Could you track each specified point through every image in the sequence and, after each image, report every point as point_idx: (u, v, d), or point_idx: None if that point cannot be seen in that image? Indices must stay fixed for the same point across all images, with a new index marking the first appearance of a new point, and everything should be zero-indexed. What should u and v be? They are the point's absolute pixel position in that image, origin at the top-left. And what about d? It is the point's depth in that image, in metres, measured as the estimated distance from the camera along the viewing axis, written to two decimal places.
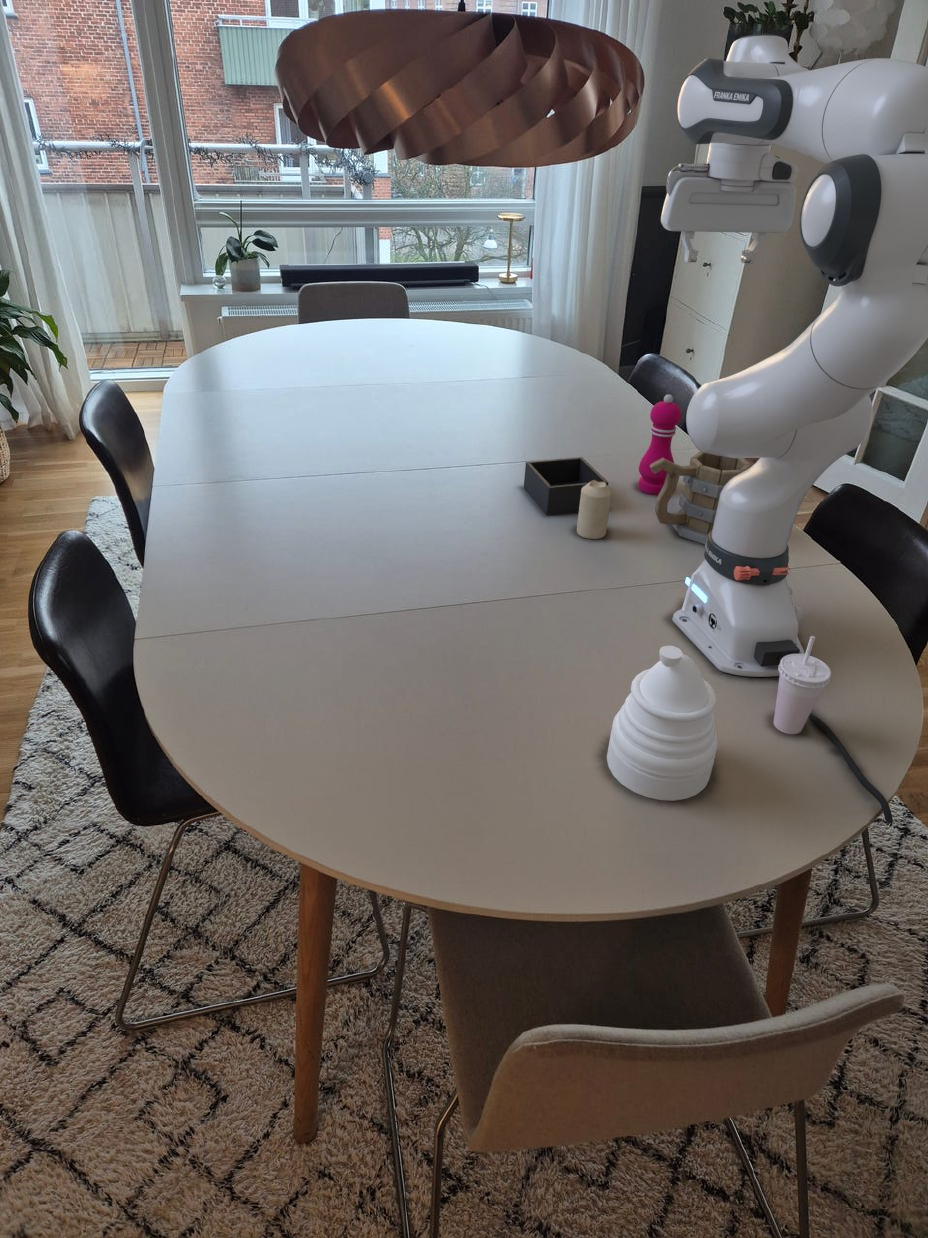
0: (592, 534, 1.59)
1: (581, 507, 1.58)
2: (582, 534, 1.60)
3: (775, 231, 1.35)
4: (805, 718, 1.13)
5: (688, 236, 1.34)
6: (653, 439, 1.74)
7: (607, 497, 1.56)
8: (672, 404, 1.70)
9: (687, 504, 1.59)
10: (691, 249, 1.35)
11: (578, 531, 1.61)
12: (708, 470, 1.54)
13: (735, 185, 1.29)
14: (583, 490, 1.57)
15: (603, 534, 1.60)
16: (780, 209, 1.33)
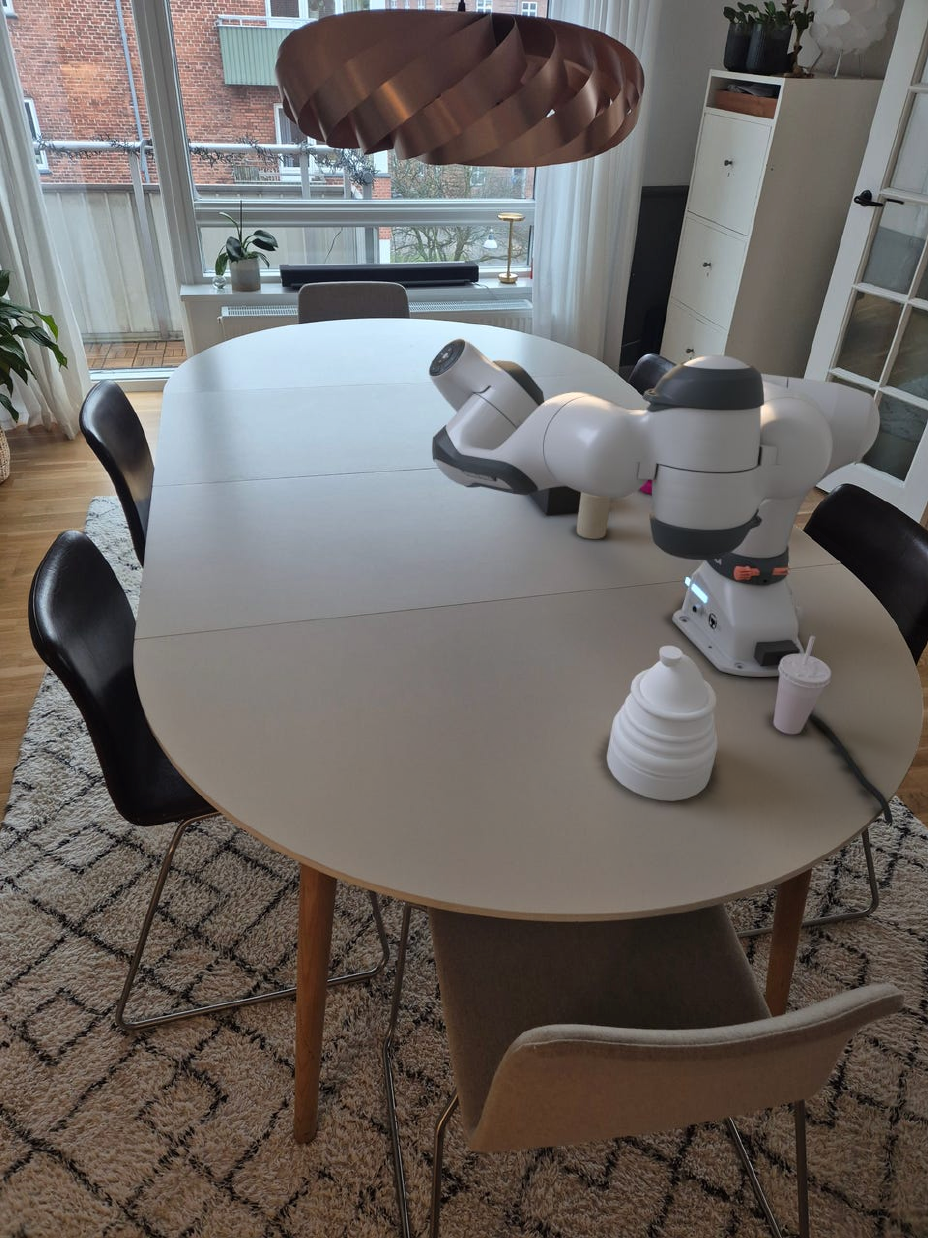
0: (592, 534, 1.59)
1: (581, 507, 1.58)
2: (582, 534, 1.60)
3: None
4: (805, 718, 1.13)
5: None
6: None
7: None
8: None
9: None
10: None
11: (578, 531, 1.61)
12: None
13: None
14: None
15: (603, 534, 1.60)
16: None
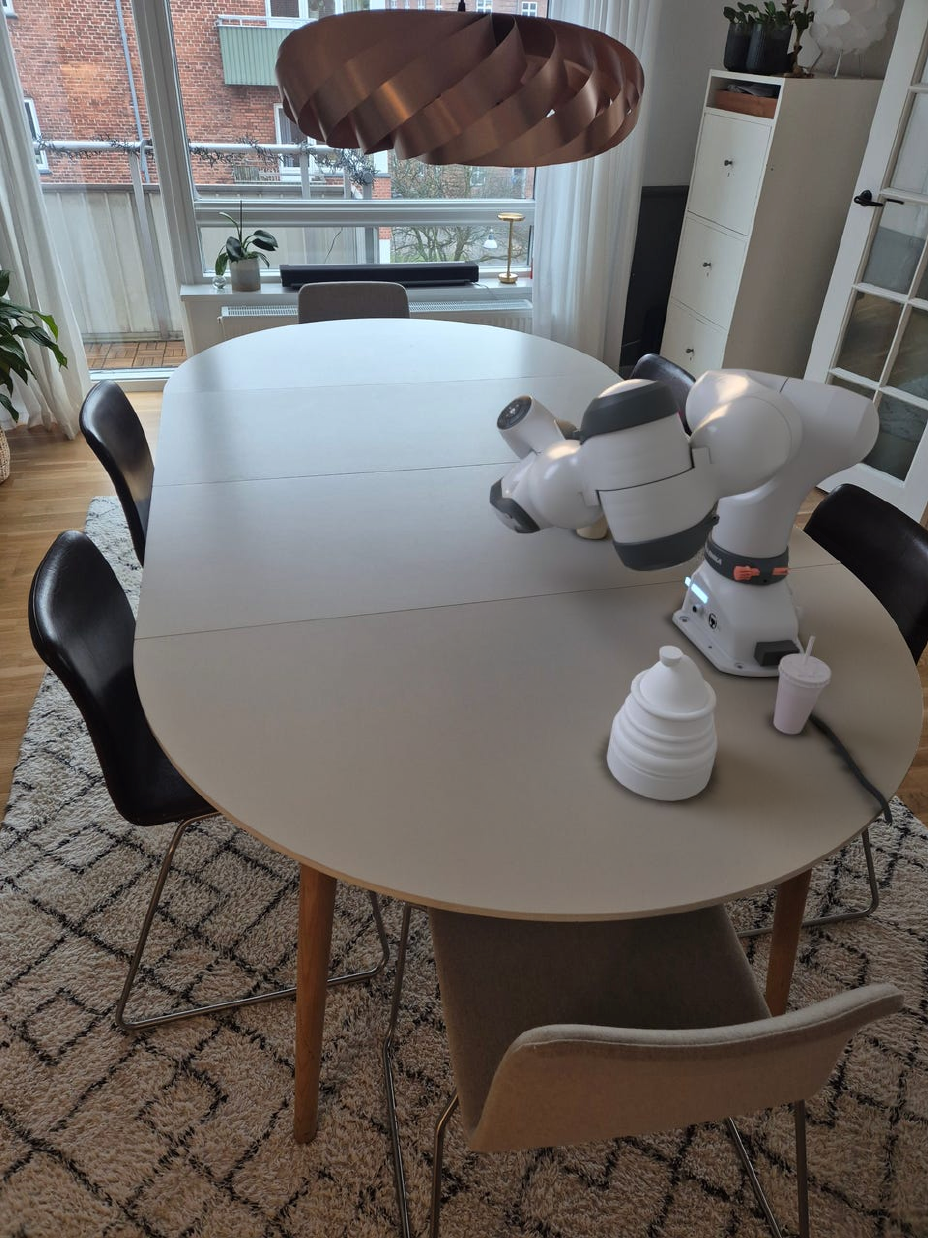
0: (592, 534, 1.59)
1: None
2: (582, 534, 1.60)
3: None
4: (805, 718, 1.13)
5: None
6: None
7: None
8: None
9: None
10: None
11: (578, 531, 1.61)
12: None
13: None
14: None
15: (603, 534, 1.60)
16: None
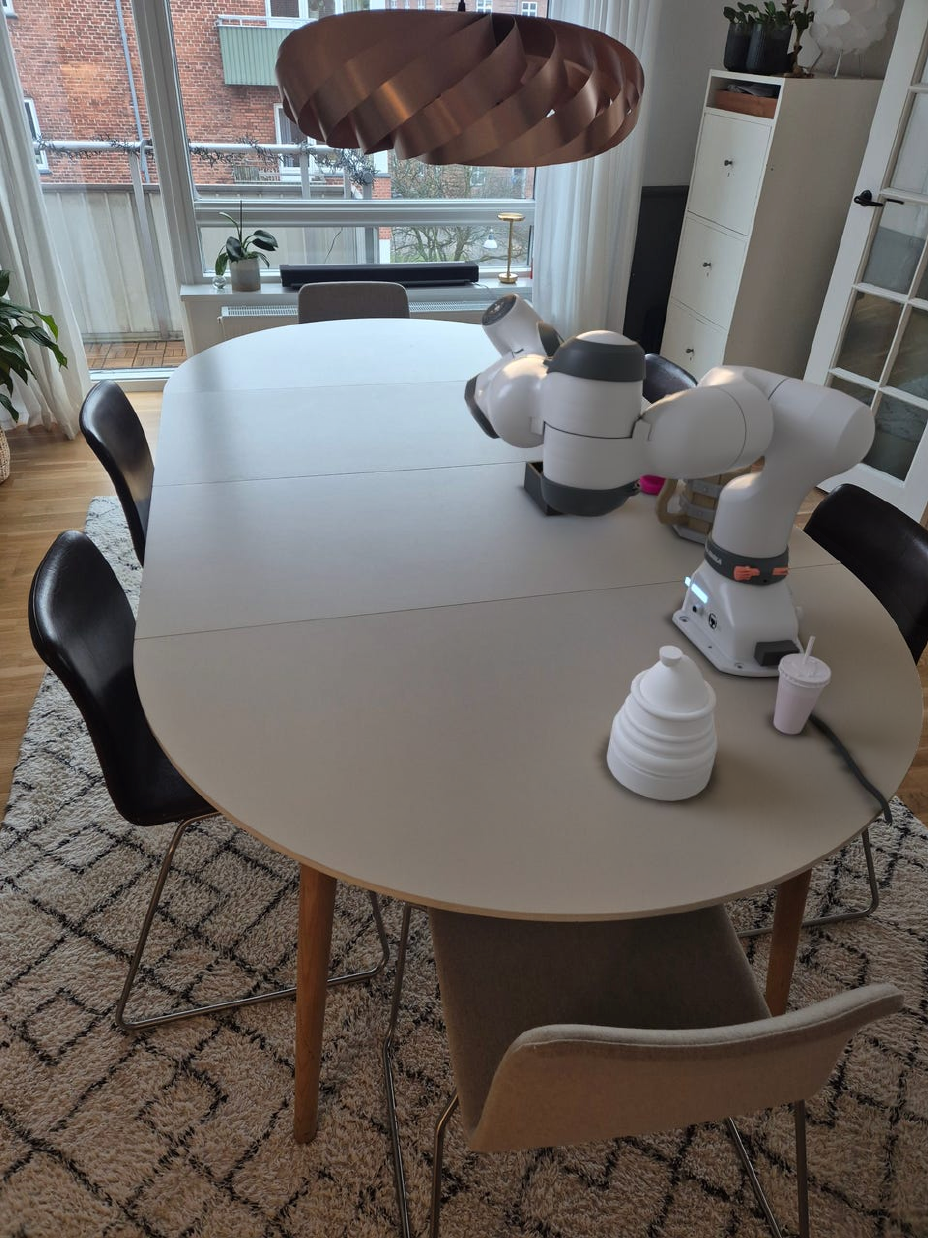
0: None
1: None
2: None
3: None
4: (805, 718, 1.13)
5: None
6: None
7: None
8: None
9: (687, 504, 1.59)
10: None
11: None
12: None
13: None
14: None
15: None
16: None
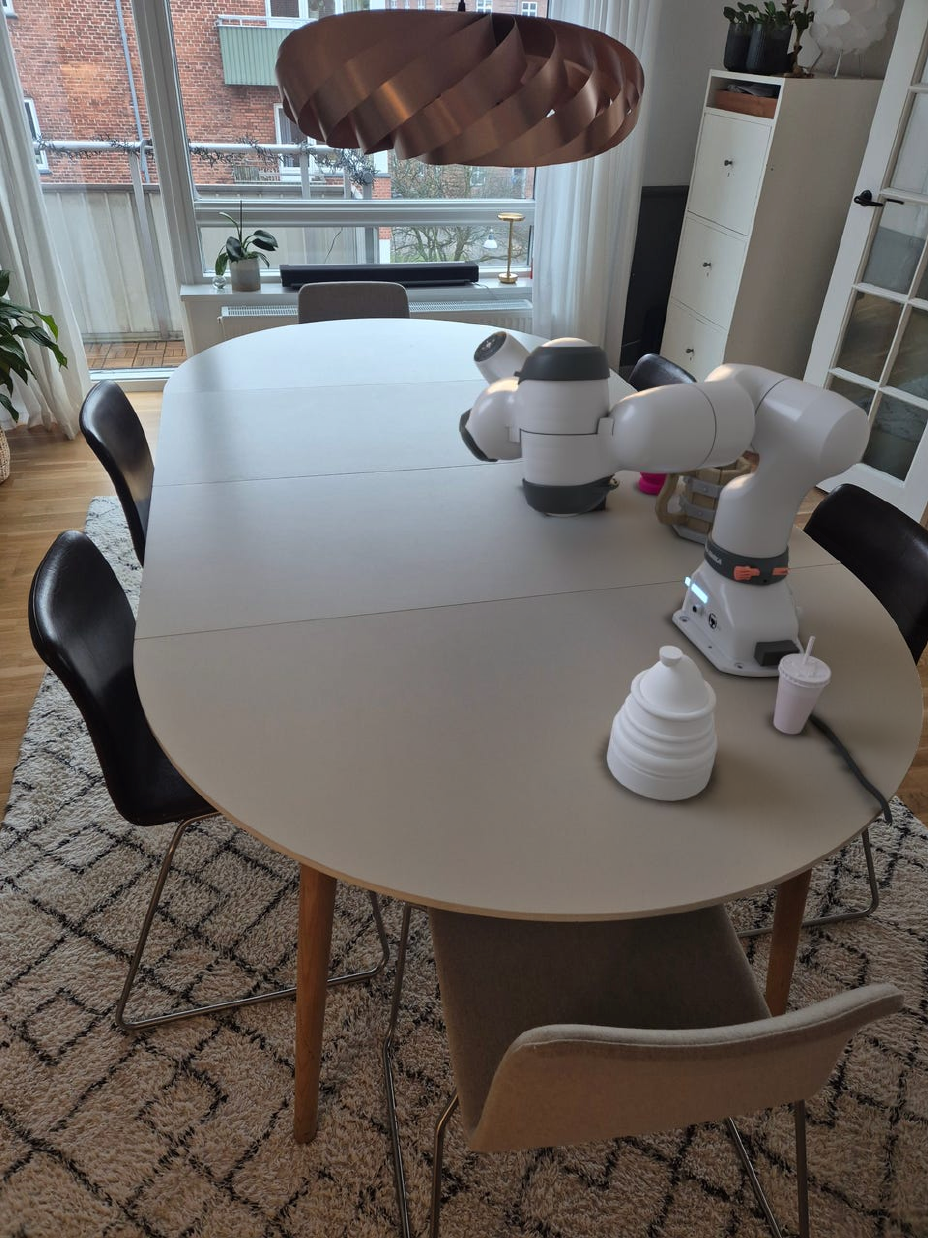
0: None
1: None
2: None
3: None
4: (805, 718, 1.13)
5: None
6: None
7: None
8: None
9: (687, 504, 1.59)
10: None
11: None
12: (708, 470, 1.54)
13: None
14: None
15: None
16: None
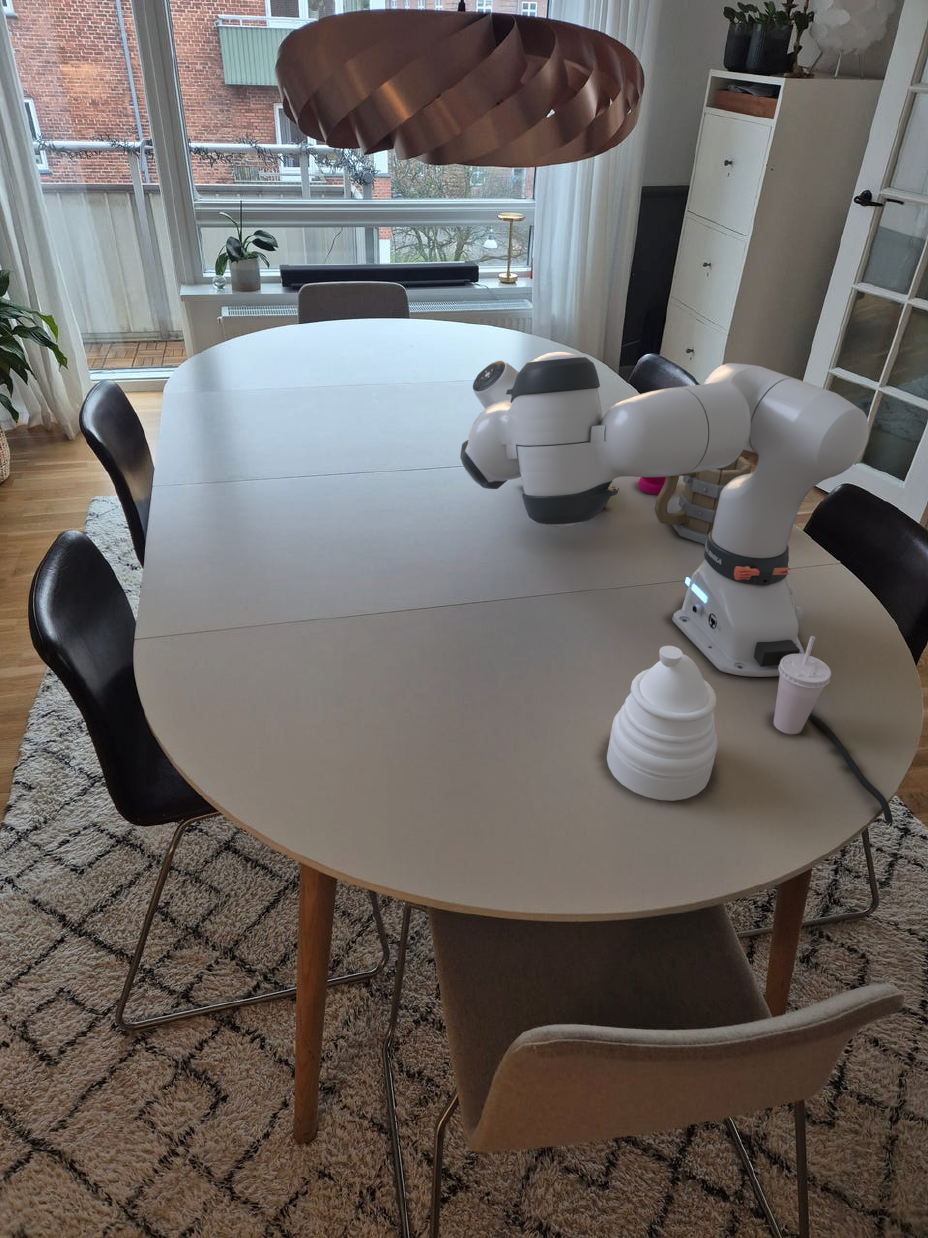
0: None
1: None
2: None
3: None
4: (805, 718, 1.13)
5: None
6: None
7: None
8: None
9: (687, 504, 1.59)
10: None
11: None
12: (708, 470, 1.54)
13: None
14: None
15: None
16: None
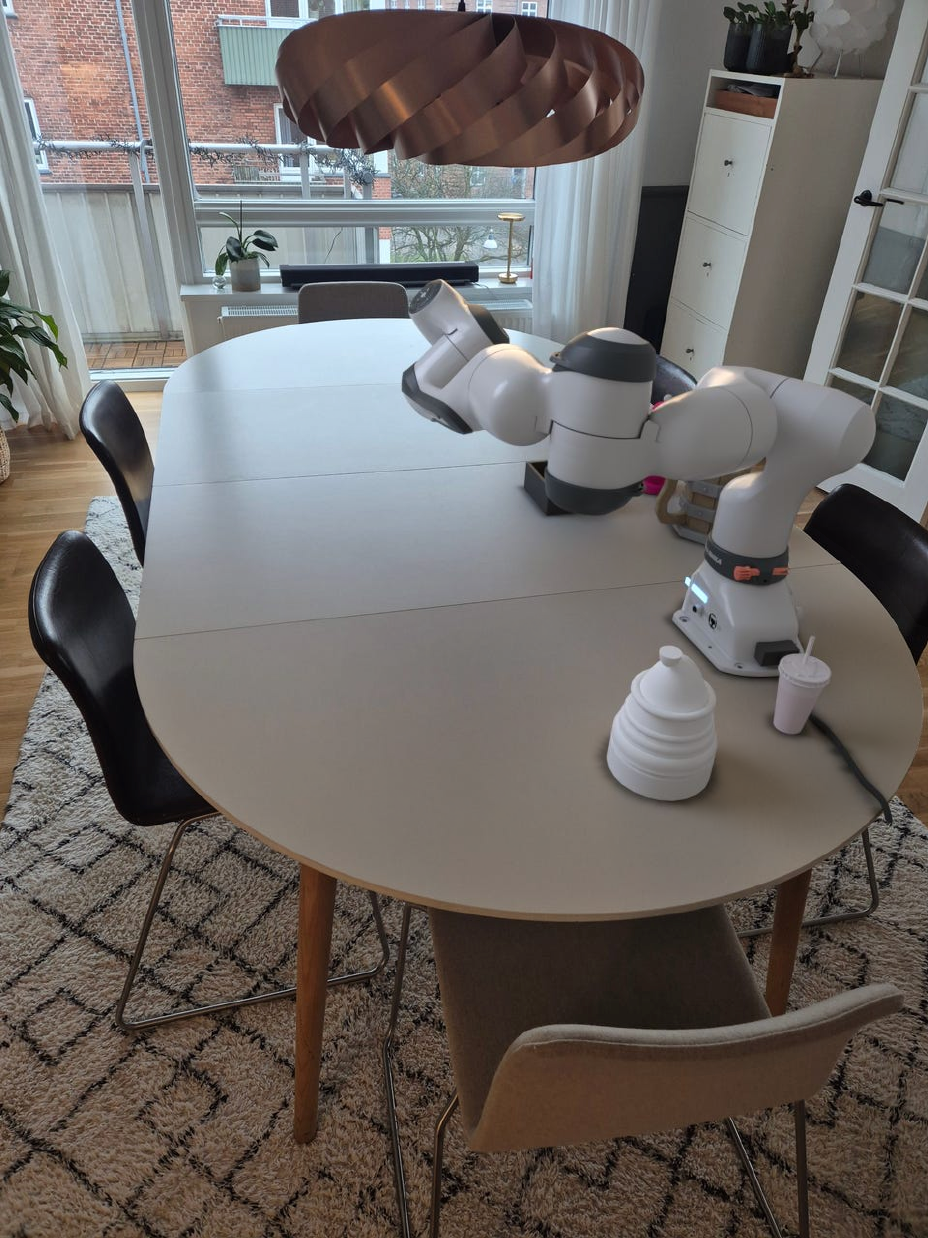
0: None
1: None
2: None
3: None
4: (805, 718, 1.13)
5: None
6: None
7: None
8: None
9: (687, 504, 1.59)
10: None
11: None
12: None
13: None
14: None
15: None
16: None
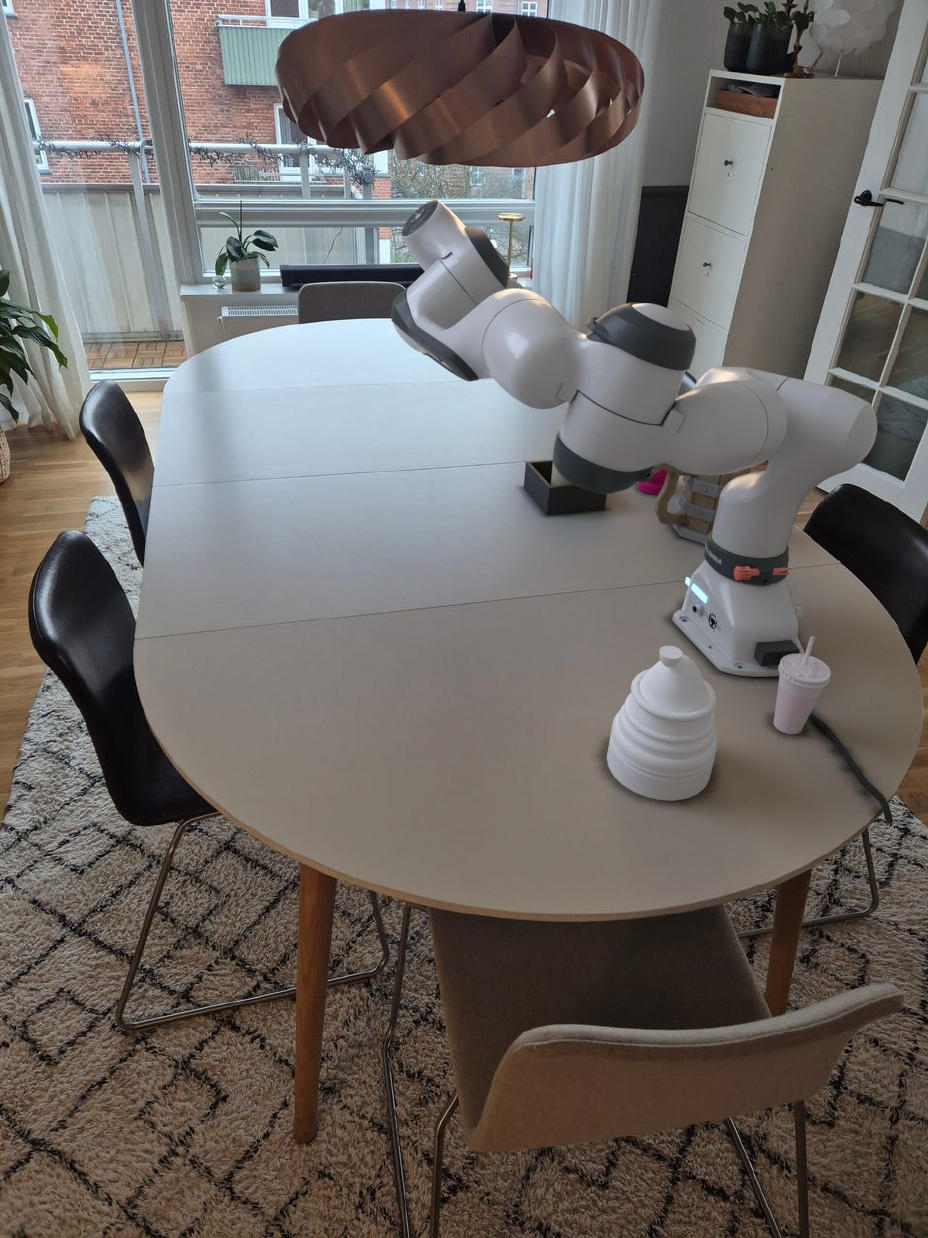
0: None
1: (553, 470, 1.70)
2: None
3: None
4: (805, 718, 1.13)
5: None
6: None
7: None
8: None
9: (687, 504, 1.59)
10: None
11: None
12: None
13: None
14: None
15: None
16: None
